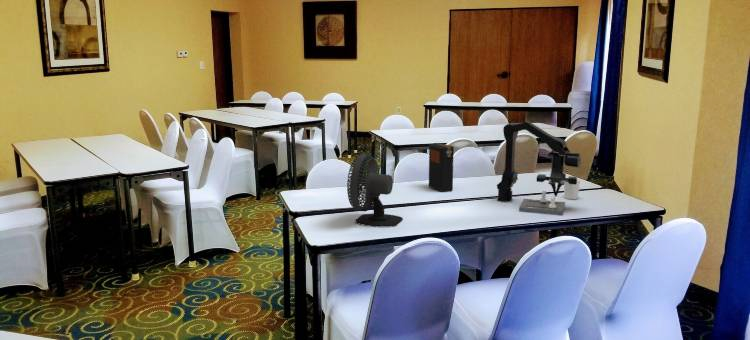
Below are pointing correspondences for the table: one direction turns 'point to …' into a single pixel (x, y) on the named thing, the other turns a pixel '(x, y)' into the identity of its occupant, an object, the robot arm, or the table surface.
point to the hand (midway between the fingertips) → (555, 196)
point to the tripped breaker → (543, 197)
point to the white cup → (571, 190)
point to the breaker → (552, 202)
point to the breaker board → (541, 207)
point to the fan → (369, 191)
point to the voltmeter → (441, 166)
